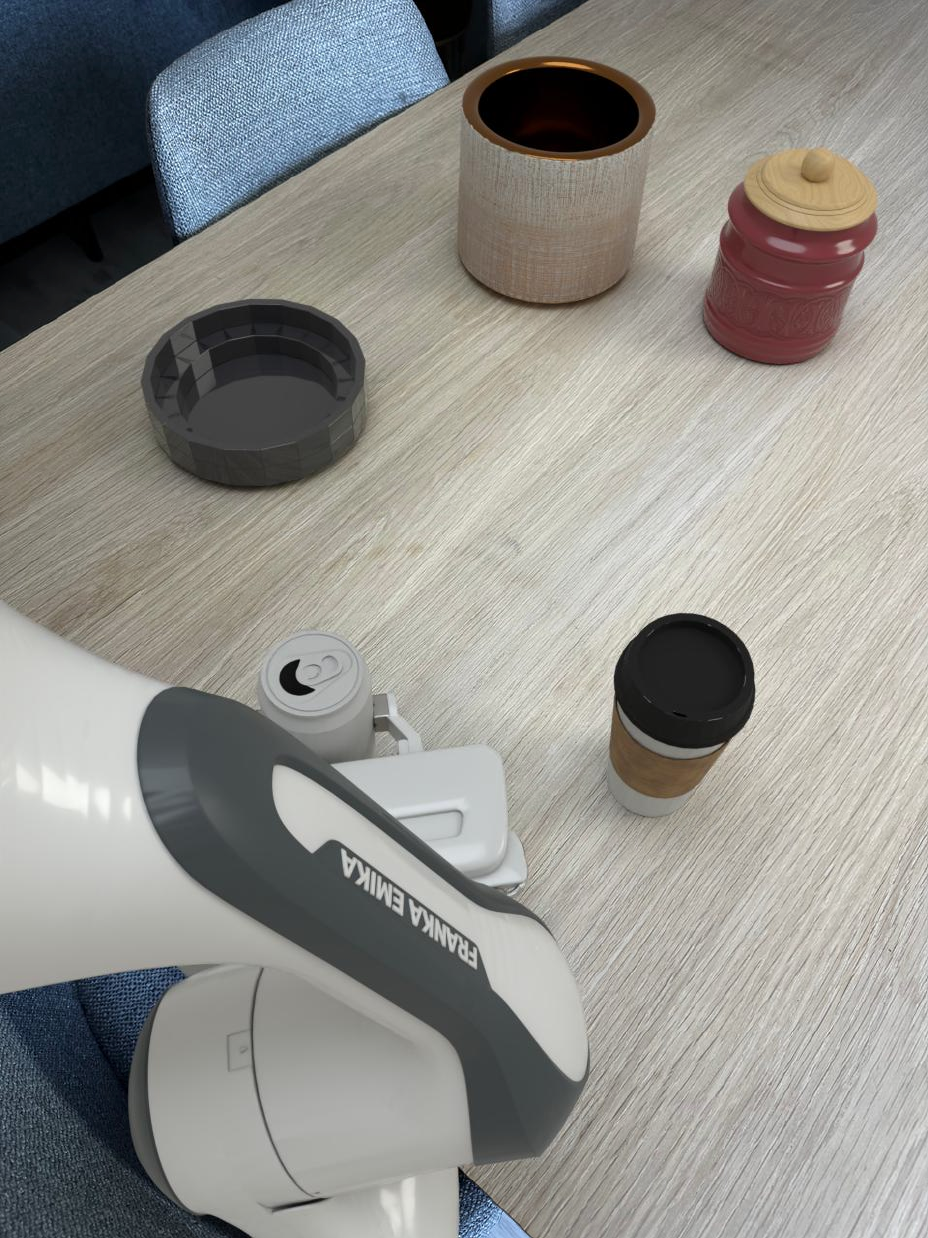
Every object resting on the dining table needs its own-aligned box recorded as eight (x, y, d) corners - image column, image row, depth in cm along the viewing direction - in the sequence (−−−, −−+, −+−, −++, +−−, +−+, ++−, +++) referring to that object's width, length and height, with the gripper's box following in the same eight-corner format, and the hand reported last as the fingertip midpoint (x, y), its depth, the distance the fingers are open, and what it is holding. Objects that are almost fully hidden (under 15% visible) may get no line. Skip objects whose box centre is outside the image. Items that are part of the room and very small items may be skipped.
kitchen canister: (714, 267, 105) (759, 95, 90) (843, 297, 103) (910, 125, 88) (686, 348, 98) (730, 175, 83) (824, 381, 95) (894, 210, 81)
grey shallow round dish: (174, 513, 85) (160, 471, 81) (140, 365, 95) (126, 321, 90) (393, 464, 88) (391, 421, 84) (338, 326, 98) (334, 282, 94)
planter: (661, 241, 107) (692, 91, 94) (575, 335, 98) (597, 184, 85) (515, 183, 112) (526, 33, 99) (422, 267, 104) (420, 115, 91)
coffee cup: (574, 812, 70) (603, 701, 58) (605, 710, 75) (638, 587, 63) (696, 851, 69) (752, 746, 57) (719, 745, 74) (777, 626, 61)
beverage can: (263, 750, 67) (236, 648, 58) (354, 712, 69) (342, 607, 59) (300, 832, 64) (278, 739, 54) (394, 790, 66) (389, 692, 56)
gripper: (541, 882, 53) (491, 656, 61) (130, 945, 50) (133, 701, 58) (530, 923, 58) (486, 710, 66) (157, 982, 55) (157, 754, 63)
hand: (317, 706), depth 62 cm, fingers closed on beverage can, 6 cm apart
